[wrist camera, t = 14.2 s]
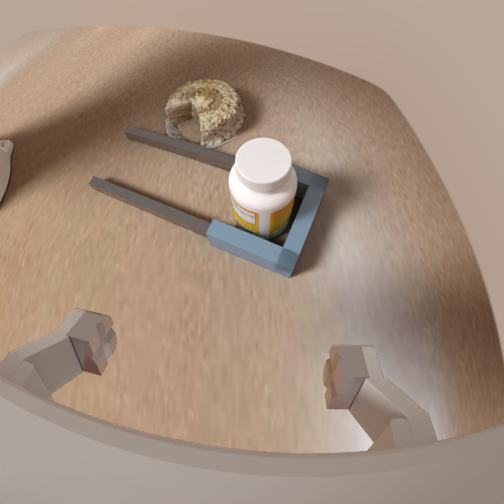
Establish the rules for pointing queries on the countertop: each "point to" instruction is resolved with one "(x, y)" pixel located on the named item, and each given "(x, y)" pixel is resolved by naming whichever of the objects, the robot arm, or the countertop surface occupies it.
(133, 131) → the guide rails
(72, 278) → the countertop surface
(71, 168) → the countertop surface
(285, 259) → the socket block
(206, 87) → the cake
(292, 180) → the supplement bottle
